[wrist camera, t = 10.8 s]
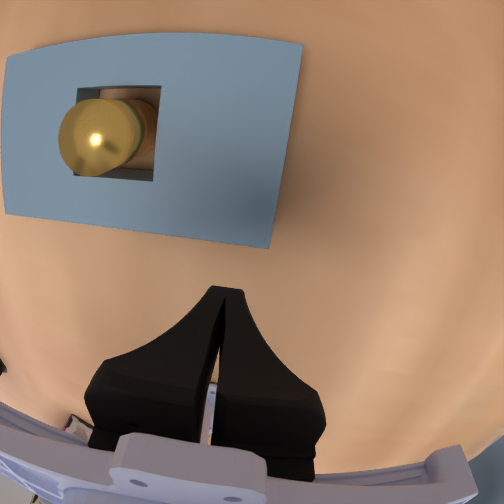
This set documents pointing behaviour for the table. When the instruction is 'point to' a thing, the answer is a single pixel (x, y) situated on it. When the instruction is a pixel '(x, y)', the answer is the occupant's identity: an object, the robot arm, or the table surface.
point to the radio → (2, 367)
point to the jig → (168, 133)
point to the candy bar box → (75, 428)
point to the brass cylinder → (106, 134)
